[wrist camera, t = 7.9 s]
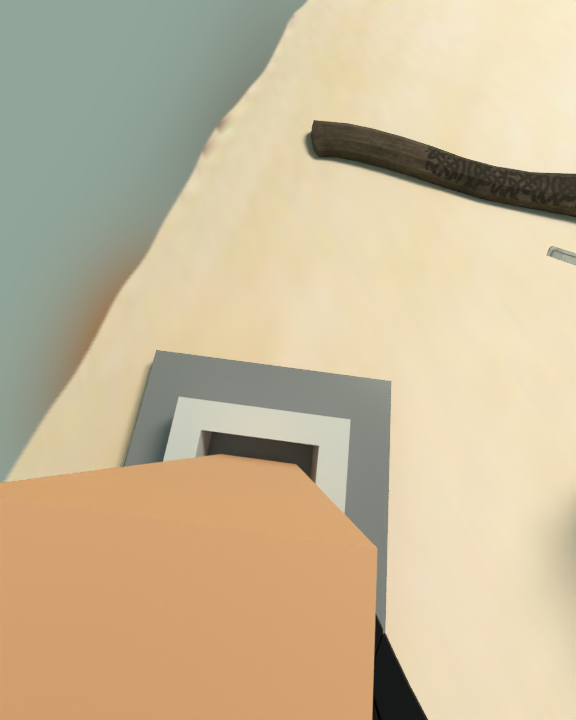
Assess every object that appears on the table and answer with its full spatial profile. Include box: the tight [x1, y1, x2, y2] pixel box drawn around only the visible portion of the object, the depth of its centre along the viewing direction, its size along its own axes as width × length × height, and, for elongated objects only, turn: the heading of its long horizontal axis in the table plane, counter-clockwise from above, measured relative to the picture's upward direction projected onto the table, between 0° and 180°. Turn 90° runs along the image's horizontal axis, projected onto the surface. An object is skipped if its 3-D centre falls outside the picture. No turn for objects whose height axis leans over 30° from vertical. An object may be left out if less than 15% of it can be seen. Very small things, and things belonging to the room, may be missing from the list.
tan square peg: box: [0, 454, 378, 720], centre depth 8 cm, size 4×4×13 cm
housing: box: [124, 350, 391, 633], centre depth 15 cm, size 15×15×4 cm
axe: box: [311, 120, 576, 265], centre depth 24 cm, size 11×3×30 cm
